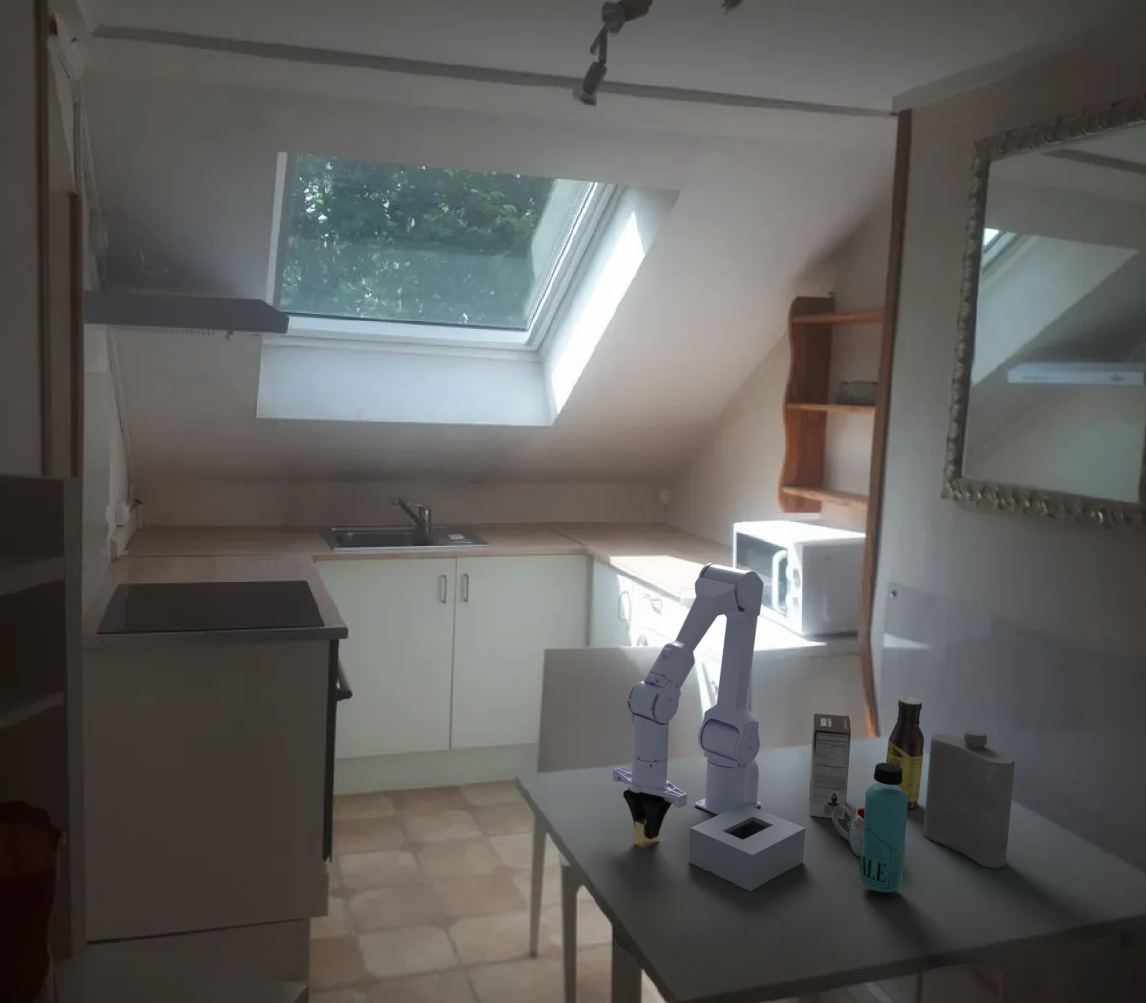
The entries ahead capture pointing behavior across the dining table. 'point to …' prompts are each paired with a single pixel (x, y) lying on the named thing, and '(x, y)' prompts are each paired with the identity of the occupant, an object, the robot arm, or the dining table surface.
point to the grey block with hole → (746, 846)
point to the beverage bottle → (884, 830)
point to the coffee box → (829, 764)
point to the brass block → (642, 834)
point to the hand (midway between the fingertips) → (646, 834)
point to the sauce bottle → (908, 747)
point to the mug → (851, 827)
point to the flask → (969, 797)
